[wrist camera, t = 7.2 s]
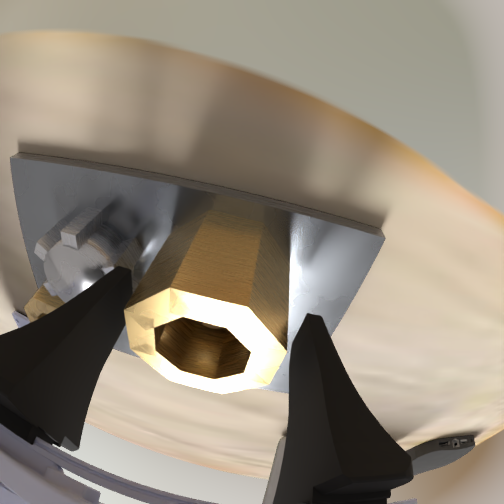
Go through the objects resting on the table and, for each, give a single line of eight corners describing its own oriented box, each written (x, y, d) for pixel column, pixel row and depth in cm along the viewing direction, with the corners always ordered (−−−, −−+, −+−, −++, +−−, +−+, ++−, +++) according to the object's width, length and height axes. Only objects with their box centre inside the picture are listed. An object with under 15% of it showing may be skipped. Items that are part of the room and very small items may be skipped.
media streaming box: (367, 467, 37) (368, 482, 34) (427, 436, 29) (430, 455, 26) (424, 463, 38) (426, 475, 36) (481, 431, 30) (484, 446, 27)
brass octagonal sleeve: (268, 319, 16) (259, 401, 12) (167, 294, 16) (133, 369, 11) (300, 231, 12) (303, 319, 8) (173, 201, 12) (119, 273, 8)
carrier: (292, 385, 21) (289, 431, 18) (55, 316, 20) (32, 351, 17) (381, 229, 13) (406, 285, 10) (19, 152, 12) (-30, 181, 9)
